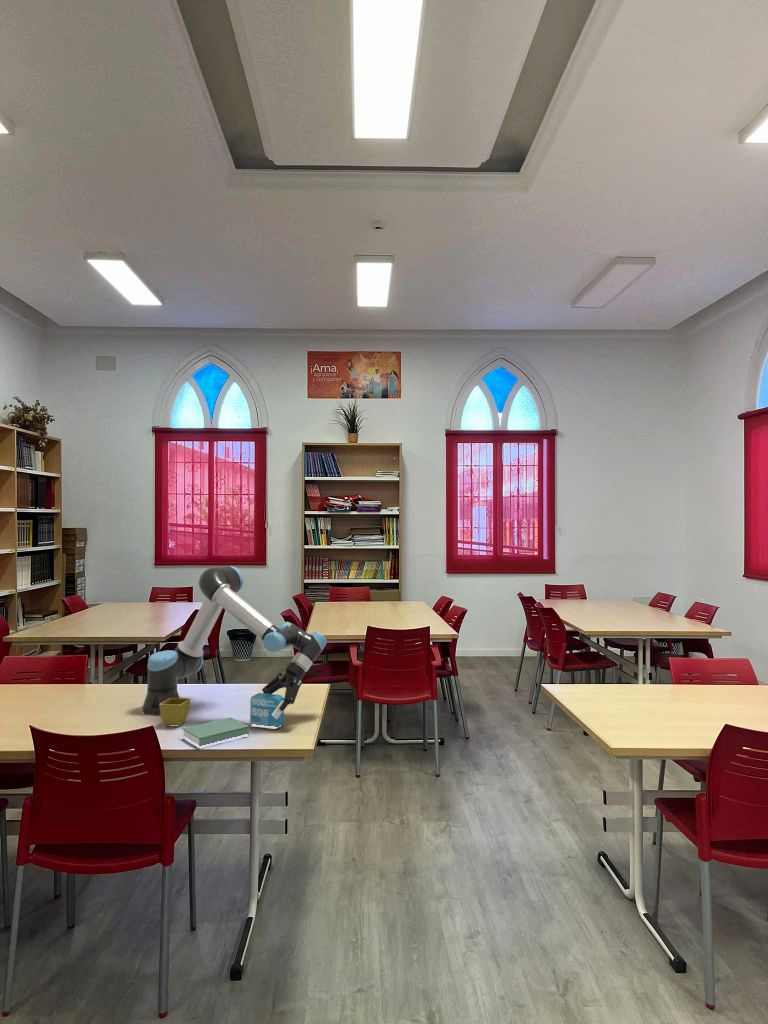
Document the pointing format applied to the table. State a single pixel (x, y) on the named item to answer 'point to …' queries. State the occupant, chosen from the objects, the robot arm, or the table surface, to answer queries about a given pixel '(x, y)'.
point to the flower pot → (174, 711)
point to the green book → (215, 731)
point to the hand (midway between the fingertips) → (264, 713)
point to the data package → (265, 709)
